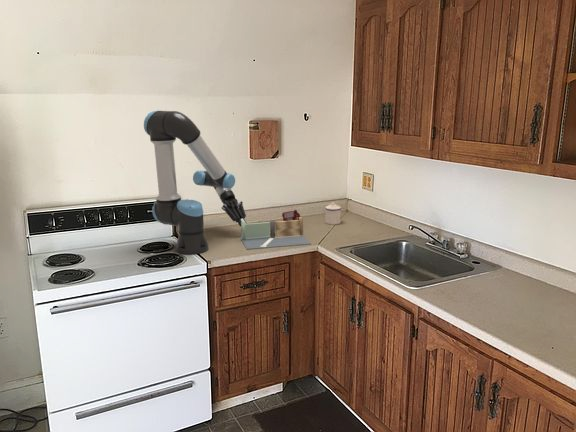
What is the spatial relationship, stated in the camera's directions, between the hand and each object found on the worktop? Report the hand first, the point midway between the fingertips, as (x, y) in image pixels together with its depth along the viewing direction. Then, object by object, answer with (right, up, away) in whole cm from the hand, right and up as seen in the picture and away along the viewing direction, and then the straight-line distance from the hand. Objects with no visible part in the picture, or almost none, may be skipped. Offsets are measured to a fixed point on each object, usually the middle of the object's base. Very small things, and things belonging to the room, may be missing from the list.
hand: (246, 230), depth 258 cm
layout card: (+14, -5, -5) cm, 16 cm away
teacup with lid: (+46, +4, +29) cm, 55 cm away
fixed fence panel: (+21, -3, +1) cm, 21 cm away
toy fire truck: (+24, 0, +16) cm, 28 cm away
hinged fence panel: (+5, -4, -3) cm, 7 cm away
